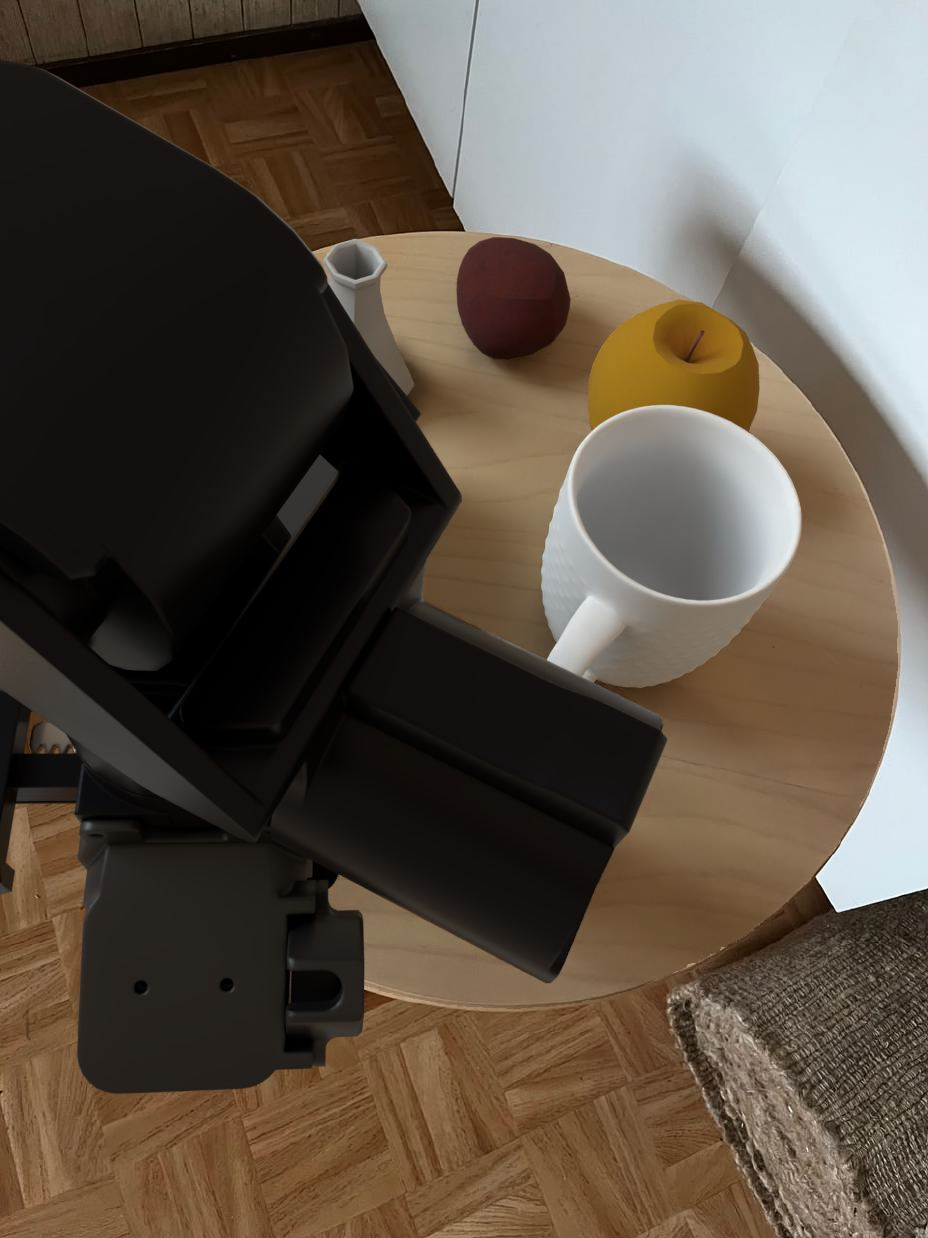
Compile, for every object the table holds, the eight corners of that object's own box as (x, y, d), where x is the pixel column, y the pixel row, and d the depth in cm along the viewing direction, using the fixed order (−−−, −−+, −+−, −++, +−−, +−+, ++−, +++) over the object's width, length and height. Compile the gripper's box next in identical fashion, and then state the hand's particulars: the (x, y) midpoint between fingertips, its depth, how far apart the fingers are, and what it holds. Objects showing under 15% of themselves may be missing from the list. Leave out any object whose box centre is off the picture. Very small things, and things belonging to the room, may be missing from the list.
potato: (564, 295, 69) (583, 223, 64) (557, 388, 65) (577, 320, 60) (457, 277, 68) (467, 204, 63) (443, 371, 65) (453, 300, 59)
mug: (610, 817, 52) (688, 721, 40) (438, 693, 54) (466, 569, 43) (745, 618, 58) (845, 486, 47) (587, 514, 61) (645, 364, 49)
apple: (542, 415, 64) (582, 272, 53) (680, 388, 66) (744, 247, 56) (599, 543, 60) (654, 416, 49) (743, 510, 62) (825, 382, 52)
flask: (269, 380, 63) (258, 254, 54) (353, 322, 66) (356, 194, 57) (351, 451, 61) (354, 332, 52) (434, 388, 64) (450, 265, 55)
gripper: (-359, 1072, 19) (-70, 1106, 33) (610, 1037, 21) (501, 1083, 35) (-204, 562, 24) (-10, 776, 38) (563, 577, 26) (484, 774, 40)
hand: (240, 855), depth 38 cm, fingers closed
